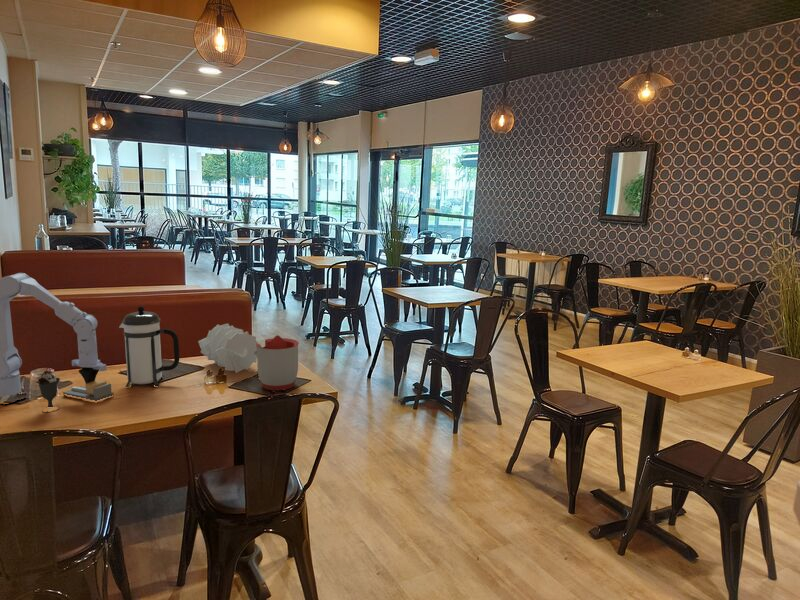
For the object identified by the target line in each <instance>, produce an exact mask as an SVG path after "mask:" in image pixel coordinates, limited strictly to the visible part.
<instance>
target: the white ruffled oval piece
mask: <svg viewBox="0 0 800 600" xmlns="http://www.w3.org/2000/svg"><path fill="white" fill-rule="evenodd" d="M257 343H258V344H259V342H258V341H257V336H255V335H251V334H249V331H245V332H244V329H242V328H237V327H234V325H230V324H229V323H224V324H222V325H221V324H216V326H214V327H213V328H212V329H211V330H210V329H208V333H207V336H206V337H205V338H202V339H200V340H198V345H199V347H200V353H201V354H203V356H205V357H206V358H207V361H213V362H214V363H213V364H216V365H217V367H222V368H224V371H232V372H234V371H235V373H236V374H237V373H239V372H241V371H243V370H246V371H248V370H249V369H250V367H251V366H252V364H253V363H256V364H257V354H256V355H254V352H255V351H257V346H256V344H257Z"/></svg>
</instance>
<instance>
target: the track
mask: <svg viewBox="0 0 800 600" xmlns="http://www.w3.org/2000/svg"><path fill="white" fill-rule="evenodd" d="M106 383H107V384H104V385H101V386H98V387H95V388H93V394H94V395H91V394H88V392H86V386H83V385H82V386H74V385H73V386H72V387H71V389H68V390H66V391H63V392H62V394H67V395H72V396H76V397H81V398H86V399H90V400H95V401H97V400H100V399H103V398H106V397H109V396H112V395H115V394H114V392H112V383H111V382H110V383H109V382H106Z"/></svg>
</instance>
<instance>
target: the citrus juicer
mask: <svg viewBox="0 0 800 600" xmlns="http://www.w3.org/2000/svg"><path fill="white" fill-rule="evenodd" d="M299 344H300V343H299V341H298V340H296V339H292V338H286V337H285V338H283V337H281V336H280V335H278V334H277V335H274V337H273V338H268V339H265V341H264V346H262V344H259V342H258V343H257V344H256V346H257V351H255V352H254V355H256V354H257V360H256V365H257V374H258V378H259V381H260V384H261V386H262V388H263V389H265V390H269V391H279V390H283V391H284V390H288V389H291V388H293V387H294V385H295V383H296V380H297V377H298V371H299Z"/></svg>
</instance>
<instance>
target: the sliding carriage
mask: <svg viewBox="0 0 800 600" xmlns="http://www.w3.org/2000/svg"><path fill="white" fill-rule="evenodd" d="M107 383H108V382H107V381H106V380H101V379H95V381H92V382H89V383H85V387H86V392H88V394H91V395H94V394H93V388H95V387H98V386H101V385H104V384H107Z"/></svg>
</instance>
